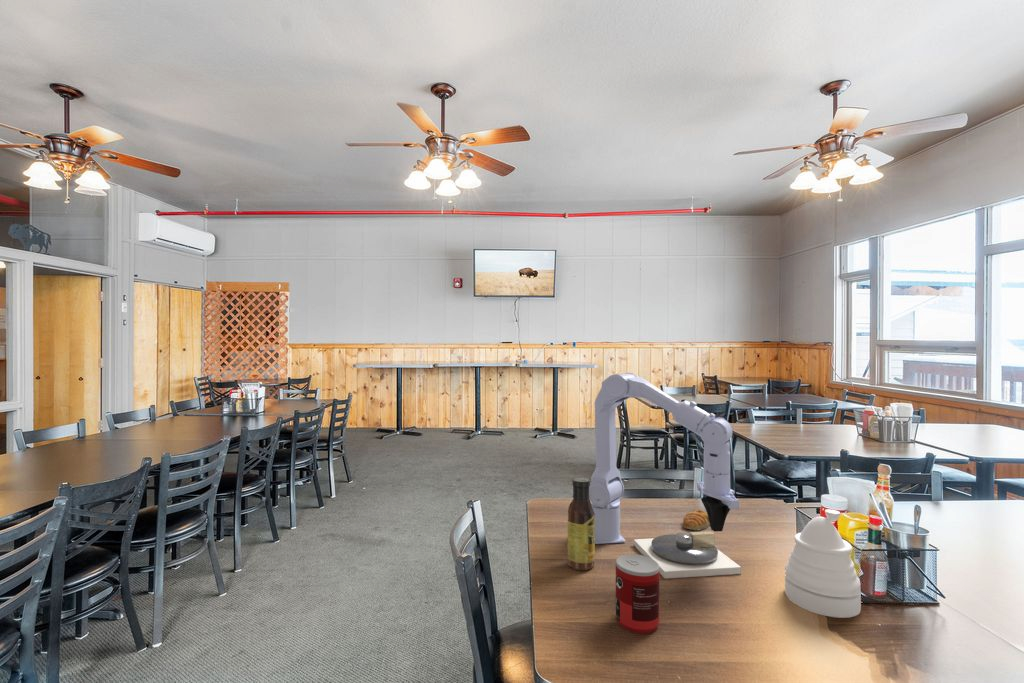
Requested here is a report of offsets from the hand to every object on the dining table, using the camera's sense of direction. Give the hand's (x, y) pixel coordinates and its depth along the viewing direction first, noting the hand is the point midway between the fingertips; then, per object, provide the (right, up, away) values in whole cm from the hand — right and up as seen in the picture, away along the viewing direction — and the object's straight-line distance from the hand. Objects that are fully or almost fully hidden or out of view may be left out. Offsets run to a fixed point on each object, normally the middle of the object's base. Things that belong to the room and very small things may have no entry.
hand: (716, 530), depth 114 cm
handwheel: (-6, -6, +4) cm, 10 cm away
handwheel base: (-6, -8, +4) cm, 11 cm away
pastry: (+5, -9, +26) cm, 28 cm away
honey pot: (+15, -9, -15) cm, 23 cm away
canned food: (-24, -8, -23) cm, 34 cm away
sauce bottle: (-31, -9, 0) cm, 32 cm away
